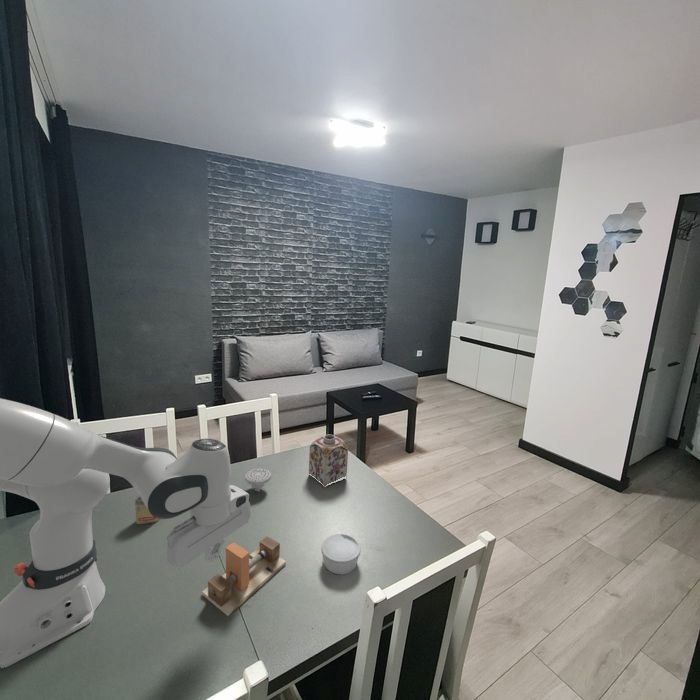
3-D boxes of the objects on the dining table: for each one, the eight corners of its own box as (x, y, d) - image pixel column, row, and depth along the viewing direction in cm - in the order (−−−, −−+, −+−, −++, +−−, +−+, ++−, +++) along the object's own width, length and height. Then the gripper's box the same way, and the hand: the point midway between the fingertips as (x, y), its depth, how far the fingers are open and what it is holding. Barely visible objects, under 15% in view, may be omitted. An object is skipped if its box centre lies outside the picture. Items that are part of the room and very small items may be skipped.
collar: (241, 591, 92) (241, 558, 90) (226, 579, 95) (225, 547, 93) (248, 584, 94) (249, 552, 92) (233, 573, 97) (233, 542, 95)
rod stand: (227, 616, 86) (227, 596, 85) (202, 594, 92) (201, 576, 91) (285, 564, 103) (286, 547, 102) (261, 548, 108) (261, 532, 107)
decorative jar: (330, 467, 157) (332, 428, 153) (347, 479, 148) (350, 438, 145) (307, 475, 149) (309, 434, 146) (323, 488, 141) (325, 446, 137)
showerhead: (241, 479, 130) (248, 465, 140) (241, 497, 132) (248, 482, 141) (268, 480, 131) (272, 466, 140) (267, 498, 132) (272, 483, 142)
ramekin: (366, 558, 107) (367, 543, 106) (346, 584, 97) (347, 568, 96) (334, 543, 112) (335, 528, 111) (313, 566, 103) (313, 550, 102)
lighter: (134, 525, 114) (133, 497, 112) (137, 517, 118) (135, 490, 116) (160, 521, 117) (158, 494, 115) (161, 514, 120) (160, 487, 118)
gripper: (175, 538, 73) (179, 595, 75) (254, 491, 89) (254, 539, 92) (158, 525, 76) (162, 580, 79) (237, 482, 93) (238, 529, 96)
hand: (212, 558), depth 86 cm, fingers closed
